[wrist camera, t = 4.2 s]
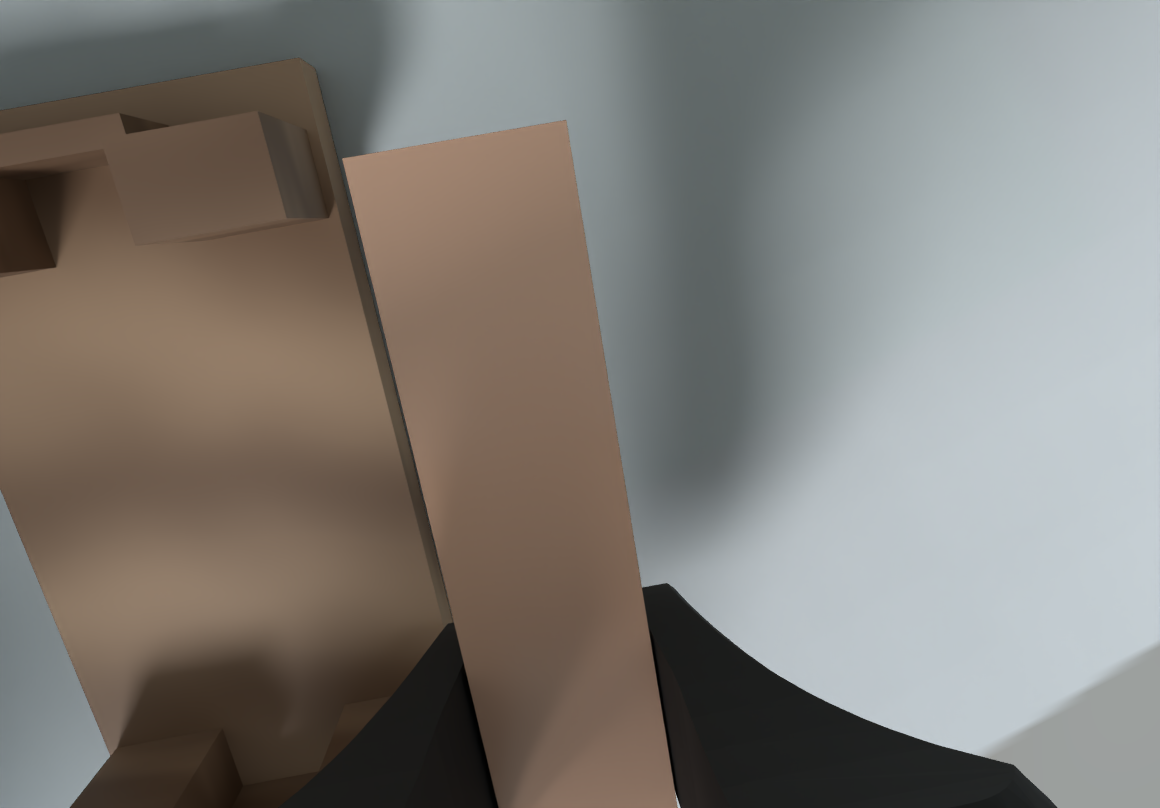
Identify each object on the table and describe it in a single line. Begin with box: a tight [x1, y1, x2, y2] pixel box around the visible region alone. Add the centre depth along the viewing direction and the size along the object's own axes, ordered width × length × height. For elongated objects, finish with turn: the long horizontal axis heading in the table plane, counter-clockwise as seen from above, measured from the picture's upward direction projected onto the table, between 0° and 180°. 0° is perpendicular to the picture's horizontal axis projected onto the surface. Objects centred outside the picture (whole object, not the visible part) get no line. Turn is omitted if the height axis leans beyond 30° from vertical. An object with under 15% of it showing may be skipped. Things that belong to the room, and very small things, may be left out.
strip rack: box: [0, 58, 453, 808], centre depth 18 cm, size 20×10×4 cm, turn 10°
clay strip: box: [342, 120, 677, 808], centre depth 12 cm, size 16×2×4 cm, turn 10°
